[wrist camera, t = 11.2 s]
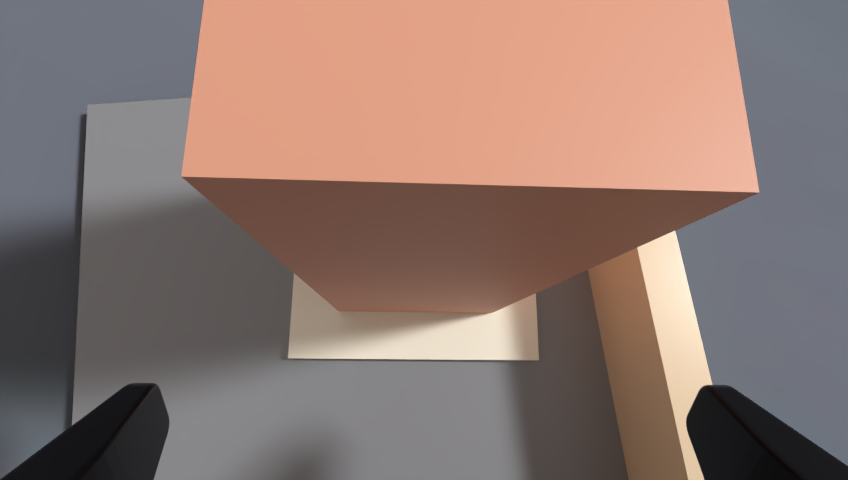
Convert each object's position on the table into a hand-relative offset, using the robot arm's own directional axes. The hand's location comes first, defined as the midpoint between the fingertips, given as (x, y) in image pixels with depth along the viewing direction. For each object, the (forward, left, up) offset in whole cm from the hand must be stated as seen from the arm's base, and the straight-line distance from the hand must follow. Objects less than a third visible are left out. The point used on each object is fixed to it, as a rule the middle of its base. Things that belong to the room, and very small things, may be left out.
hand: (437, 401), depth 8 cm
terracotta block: (+5, -1, -7) cm, 9 cm away
